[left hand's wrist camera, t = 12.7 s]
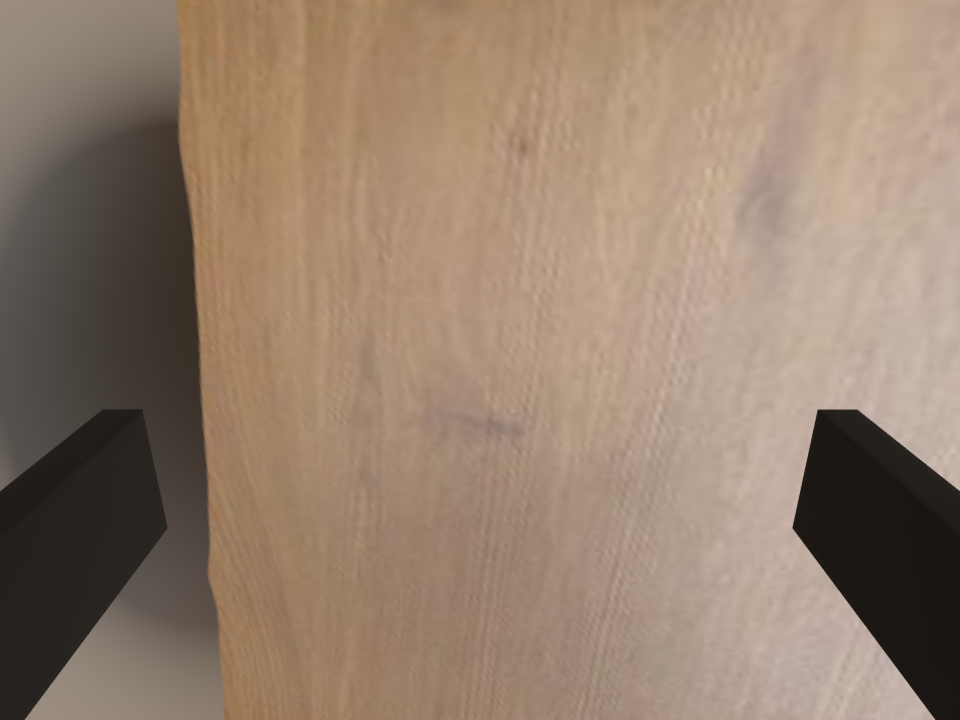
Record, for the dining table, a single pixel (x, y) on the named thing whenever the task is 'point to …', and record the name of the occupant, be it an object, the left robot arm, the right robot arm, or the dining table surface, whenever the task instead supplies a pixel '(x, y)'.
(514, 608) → the dining table surface
